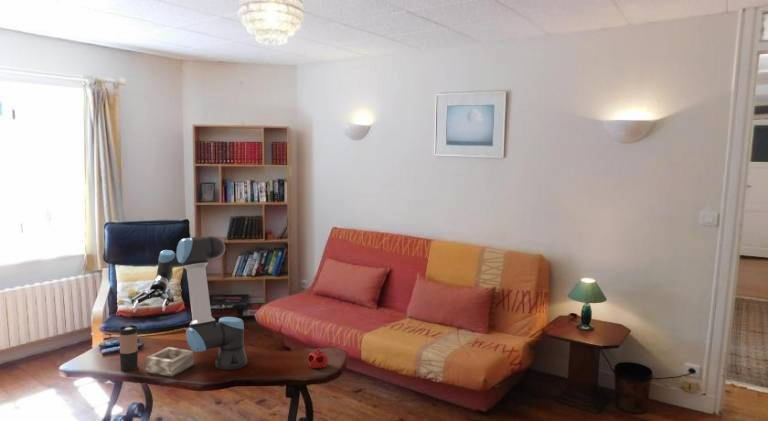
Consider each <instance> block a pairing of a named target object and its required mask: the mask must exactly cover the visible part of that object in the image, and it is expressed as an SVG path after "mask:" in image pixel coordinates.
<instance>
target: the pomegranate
mask: <svg viewBox="0 0 768 421" xmlns="http://www.w3.org/2000/svg"><path fill="white" fill-rule="evenodd" d="M307 362H308V365H309V367H310V368H312V369H317V368H320V369H323V368H322V367H324V368H325V367H326V366H327V364H328V362H329V357H328V355H327V354H326V352H325V349H324V350H321V348H320V347H319V348H318V349H316V350H313V351H312V352H310V353H309V354H308V356H307Z"/></svg>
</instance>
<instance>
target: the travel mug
mask: <svg viewBox="0 0 768 421" xmlns="http://www.w3.org/2000/svg"><path fill="white" fill-rule="evenodd" d="M138 342H139V341H138V326H137V325H134V324H133V325H131V324H130V325H129V326H121V327H120V328H119V359H120V360H119V361H120V370H121V371H122V372H130V371H131V372H132V371H134V370H136V369H137V368H138V365H139V364H138V356H139V355H138V353H139V352H138V351H139V350H138V349H139V348H138V345H139V344H138Z"/></svg>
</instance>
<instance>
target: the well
mask: <svg viewBox="0 0 768 421" xmlns="http://www.w3.org/2000/svg"><path fill="white" fill-rule="evenodd" d="M194 357H195V355H194V351H193V350H192V349H190V350H189V349H184V348H177V347H171V346H167V347H165V348H163V349H161V350H159V351H157V352H155V353H152V354H150V355H148V356H146V357H145V372H146V373H151V374H157V375H161V376H167V377H174V376H176V375H178V374H179V373H182V372H183V371H185V370H187V369H189V368H191V367H192V366H194V362H195V361H194Z"/></svg>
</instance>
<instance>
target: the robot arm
mask: <svg viewBox="0 0 768 421" xmlns="http://www.w3.org/2000/svg"><path fill="white" fill-rule="evenodd" d="M225 251H226V245H225V241H223V239H221V238H219V237H218V236H213V235H207V236H195V237H194V236H193V237H187V238H186V237H185V238H181V239H180V240H179V242H178V243H177V246H176V253H175V252H174V251H173V250H170V249H169V250H168V249H164V250H162V251H160V252H159V256H158V262H157V263H158V264H157V270H156V276H155V278H154V280H153V282H152V284H151V286H150V289H149V290H148V291H147V290H145V289H143V290H142V291H140V293H138V294H136V295H135V296H134V297H132V298H130V300H131V301H130V302H131V304H132V312H133V313H136V312H137V309H138V307H139V305H140V304H141V303H143V302H145V301H147V300H151V299H154V298H157V299H158V298H160V299H161V300H163V303H162V305H161V309H162V312H165V310H166V308H167V307H168V306H169V305H170V304H171V303H174V302H175V299H174V296H173V294H172V292H171V291H172V290H171V289H170V288H169V289H168V286H169V284H170V282H171V280H172V278H173V275H174V271H173V268H181V267H182V268H183V269H185V271H186V276H187V284H188V292H189V301H190V302H189V303H190V309H191V317H192V318H191V319H192V320H191V321H190V323H189V327H188V328H187V329H186V331H185V338H186V342H187V346H188V347H189V348H190V350H191V351H194V352H195V353H199V352H206V351H209V350H212V349H217V348H218V353H217V356H216V358H215V367H216V368H217V369H219V370H225V371H229V370H231V371H232V370H237V369H241V368H243V367H245V366H246V365H247V364H248V356H247V354H246V351H245V348H244V344H245V342H244V339H245V338H244V337H245V336H244V334H245V326H244V325H245V324H244V320H243V319H241V318H239V317H235V316H223V317H219V319H218V322H216V319H215V318H214V317H213V316H212V311H211V310H212V309H211V302H210V294H209V286H208V277H207V270H206V267H207V266H208V264H209V260H210V261H211V260H215V259H218V258H221V257H222V256H223V255H224V254H225Z"/></svg>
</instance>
